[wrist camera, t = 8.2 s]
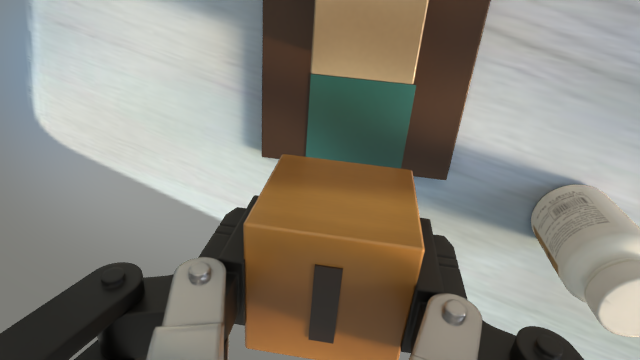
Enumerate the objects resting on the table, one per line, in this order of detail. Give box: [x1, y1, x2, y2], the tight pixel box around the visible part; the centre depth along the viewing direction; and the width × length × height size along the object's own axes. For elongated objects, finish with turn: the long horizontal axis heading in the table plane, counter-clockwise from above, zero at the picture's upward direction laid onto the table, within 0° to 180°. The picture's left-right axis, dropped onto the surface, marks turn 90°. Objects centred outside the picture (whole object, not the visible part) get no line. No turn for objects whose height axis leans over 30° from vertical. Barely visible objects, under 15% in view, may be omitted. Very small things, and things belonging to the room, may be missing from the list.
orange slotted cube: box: [243, 154, 425, 360], centre depth 12 cm, size 4×4×4 cm
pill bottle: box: [531, 185, 640, 337], centre depth 21 cm, size 4×4×8 cm
